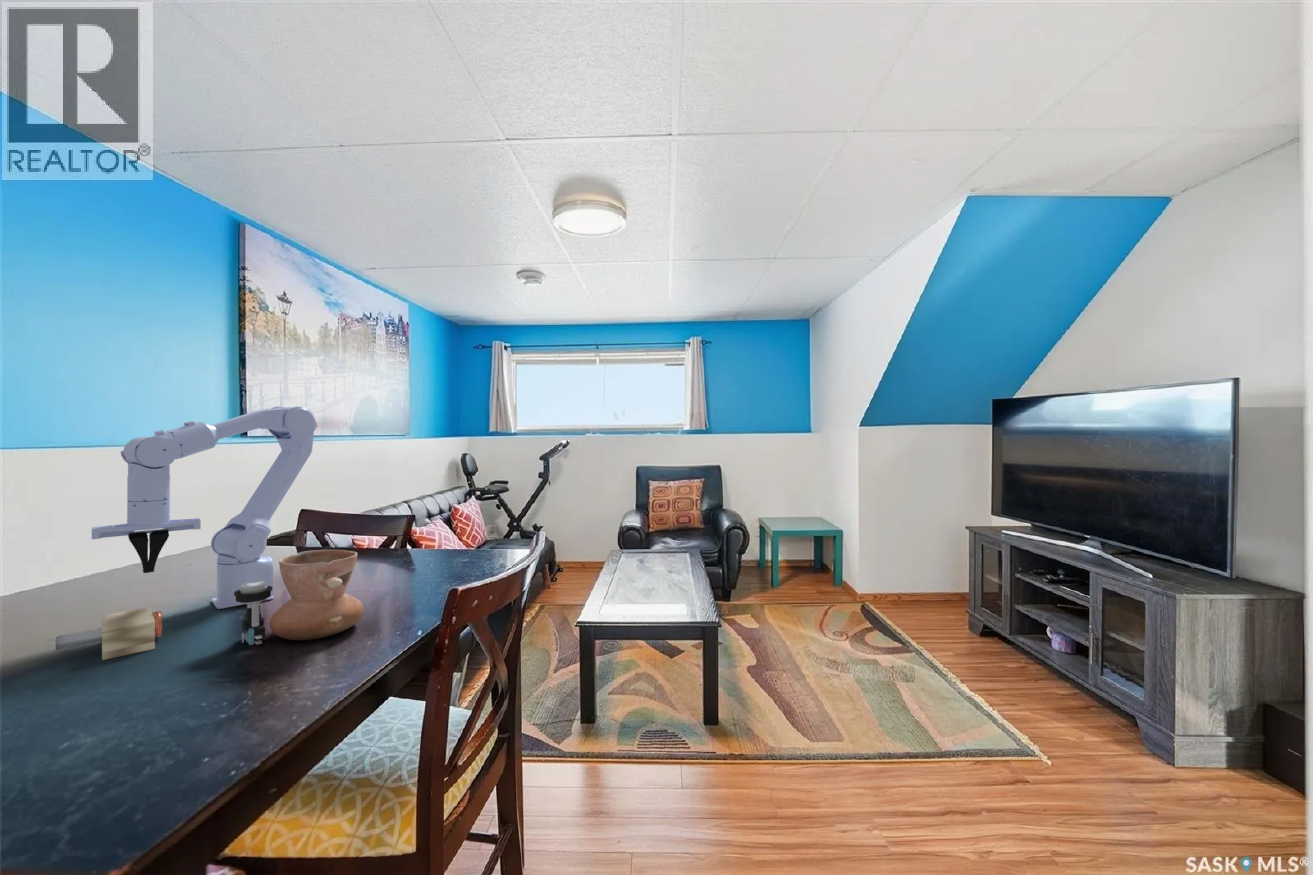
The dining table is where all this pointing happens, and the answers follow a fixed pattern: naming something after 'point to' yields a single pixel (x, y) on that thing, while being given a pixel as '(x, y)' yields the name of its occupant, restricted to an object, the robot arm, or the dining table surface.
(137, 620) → the hitch block
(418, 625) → the dining table surface
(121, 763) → the dining table surface
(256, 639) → the push button
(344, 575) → the ceramic jug
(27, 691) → the dining table surface
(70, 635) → the pin
